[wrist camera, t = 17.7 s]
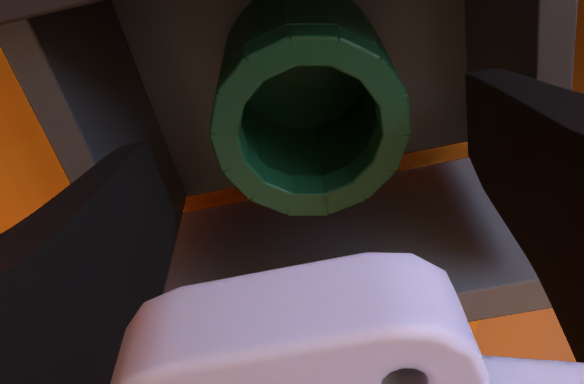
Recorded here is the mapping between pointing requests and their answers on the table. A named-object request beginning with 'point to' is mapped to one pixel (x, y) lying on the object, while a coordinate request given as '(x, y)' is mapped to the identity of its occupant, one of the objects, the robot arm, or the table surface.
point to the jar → (308, 107)
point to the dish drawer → (261, 220)
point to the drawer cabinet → (35, 8)
